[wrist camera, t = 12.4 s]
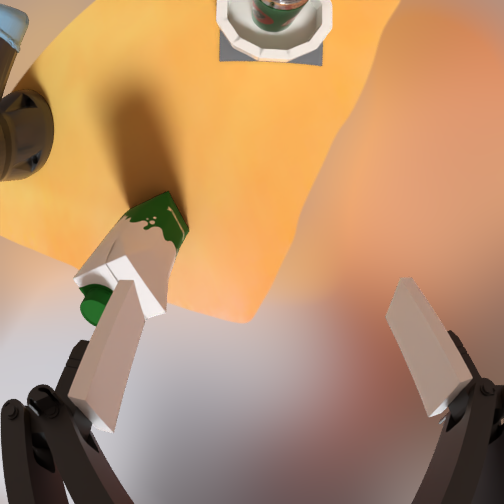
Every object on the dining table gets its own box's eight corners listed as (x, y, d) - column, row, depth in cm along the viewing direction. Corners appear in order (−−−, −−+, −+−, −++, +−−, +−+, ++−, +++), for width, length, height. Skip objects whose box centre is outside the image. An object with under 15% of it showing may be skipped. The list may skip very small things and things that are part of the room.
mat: (219, 61, 31) (219, 61, 30) (222, -22, 24) (221, -23, 23) (321, 65, 31) (322, 65, 31) (321, -16, 24) (322, -17, 24)
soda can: (286, 38, 28) (304, 15, 18) (246, 27, 27) (246, -2, 17) (297, 6, 25) (320, -26, 15) (258, -5, 25) (263, -43, 14)
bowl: (218, 61, 30) (215, 58, 27) (221, -24, 23) (218, -34, 20) (322, 66, 31) (331, 64, 27) (323, -18, 24) (331, -27, 20)
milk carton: (122, 206, 41) (57, 287, 24) (171, 182, 39) (119, 260, 22) (149, 252, 45) (106, 346, 28) (198, 232, 44) (171, 331, 27)
